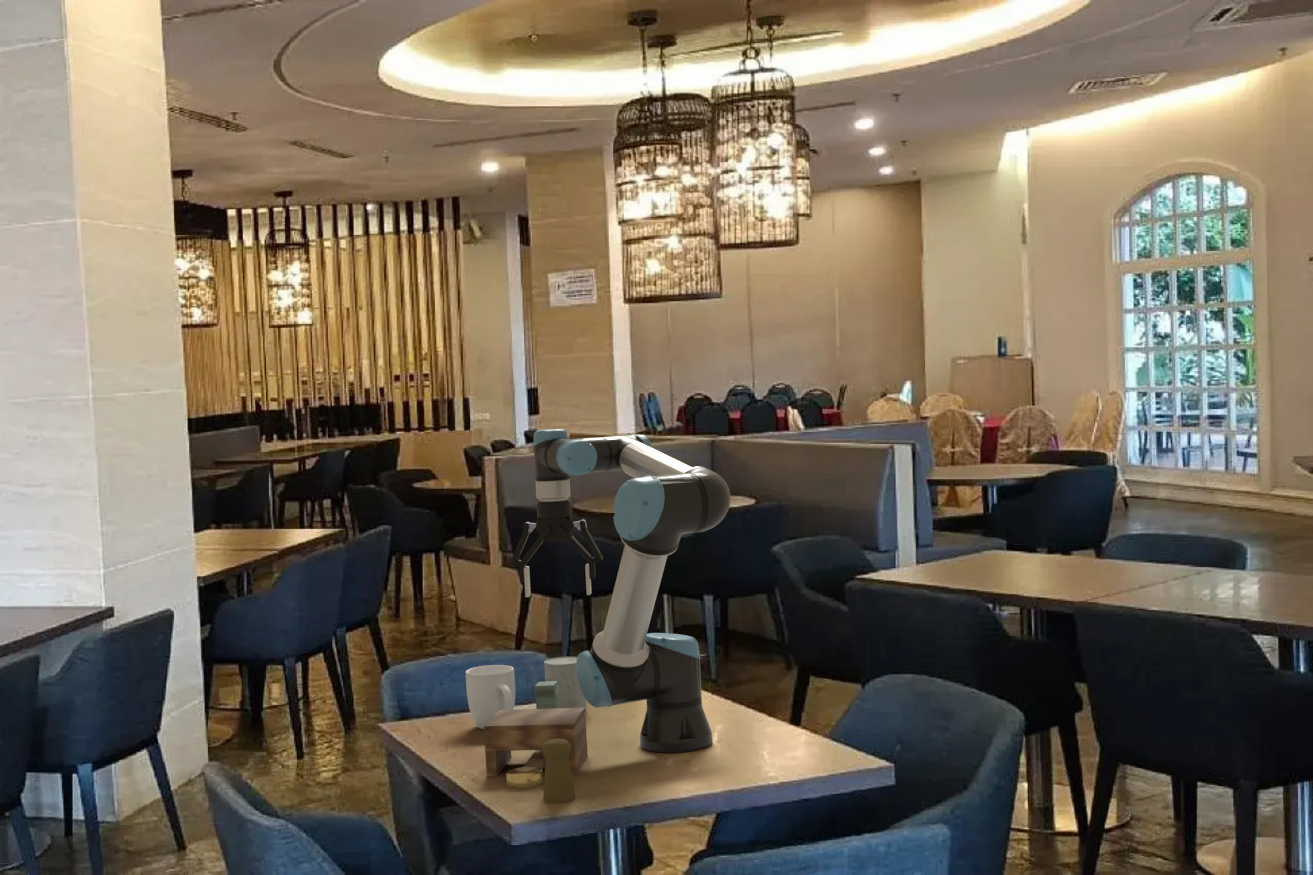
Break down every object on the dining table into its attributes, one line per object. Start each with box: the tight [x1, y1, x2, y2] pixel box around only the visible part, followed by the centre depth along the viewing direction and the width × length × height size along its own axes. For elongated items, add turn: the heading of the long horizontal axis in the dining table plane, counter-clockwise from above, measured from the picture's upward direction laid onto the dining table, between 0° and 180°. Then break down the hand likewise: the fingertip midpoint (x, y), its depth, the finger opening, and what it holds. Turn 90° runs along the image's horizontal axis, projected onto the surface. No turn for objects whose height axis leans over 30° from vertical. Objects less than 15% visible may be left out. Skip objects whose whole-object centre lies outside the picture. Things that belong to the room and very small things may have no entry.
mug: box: [465, 664, 516, 731], centre depth 327 cm, size 15×11×13 cm
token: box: [505, 766, 544, 790], centre depth 280 cm, size 7×7×2 cm
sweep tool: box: [522, 681, 559, 771], centre depth 295 cm, size 24×4×14 cm, turn 174°
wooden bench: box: [483, 708, 589, 777], centre depth 292 cm, size 18×14×10 cm
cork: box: [542, 739, 576, 805], centre depth 268 cm, size 6×6×11 cm
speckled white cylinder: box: [543, 656, 588, 714], centre depth 339 cm, size 10×10×12 cm
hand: (558, 595), depth 319 cm, fingers open, 13 cm apart
